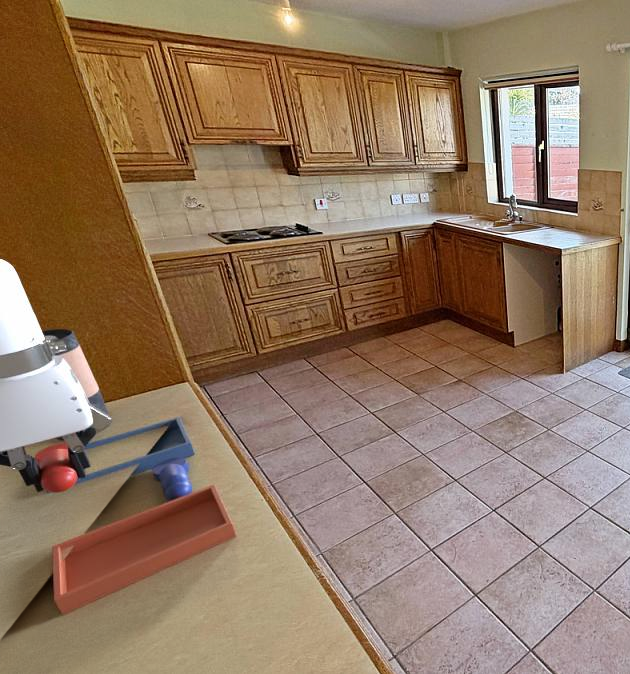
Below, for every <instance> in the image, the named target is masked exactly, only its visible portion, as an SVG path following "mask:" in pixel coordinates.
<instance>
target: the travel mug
mask: <svg viewBox="0 0 630 674" xmlns="http://www.w3.org/2000/svg"><path fill="white" fill-rule="evenodd" d="M41 331H42V333H43V335H44V336H45V338H46V340H50V342H52V341H55V342H58V341H64V342H65V344H66V347H67V351H61V352H59V353H56V354H55V356H61V357H62V358H63V359H64V360H65V361H66V362H67V364H68V365H69V366H70V368H71V369H72V371H73V372H74V374H75V375H76V377H77V379H78V381H79V383H80V385H81V386H82V388H83V390H84V392H85V395H86V397H87V399H88V401H89V403H90V404H91V405H93V406H95V407H96V408H98V409H100V410H101V411H103V412H105V413H107V414H108V415H110V414H109V411H108V408H107V406H106V403H105V401H104V398H103V395H102V393H101V390H100V388H99V385H98V383H97V381H96V378H95V377H94V374H93V371H92V370H91V367H90V365H89V364H88V363H89V362H88V360H87V359H86V356H85V354H84V352H83V350H82V347H81V345H80V343H79V340H78V338H77V337H76V336H77V335H76V334H75V332H74V331H73V330H71V329H67V328H54V329H53V328H52V329H46V330H45V329H44V330H41ZM109 426H110V425H108V426H107V427H105V428H104V429H102V430H101V431H99V432H97V433H96V434H98V433H100V432H102V431H104V430H105V429H107V428H108V427H109ZM79 432H80V431H79ZM55 439H56V440H59V441H65V440H64V439H63V437H62V436H61V437H57V438H55Z"/></svg>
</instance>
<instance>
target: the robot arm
mask: <svg viewBox="0 0 630 674" xmlns="http://www.w3.org/2000/svg"><path fill="white" fill-rule="evenodd" d="M42 331H43V330H42V329H41V326H40V324H39V321H38V318H37V316H36V314H35V312H34V310H33V308H32V305H31V303H30V300H29V298H28V296H27V294H26V291H25V289H24V287H23V285H22V283H21V279H20V277H19V275H18V273H17V271H16V269H15V267H14V266H13V265H12V264H10V263H9V262H8V261H6V260H4V259H1V258H0V466H4V467H5V466H6V467H10V468H11V469H12V470H13V471H18V472H19V474H20V477H21V478H22V480H23V482H24V484H25V486H26V487H30V486H34V488H35V490H36V492H37V493H40V492H43V491H45V490H44V489H43V488H42V486H41V468H40V467H39V465H38V463H37V461H36V459H35V456H32V455H30V454H27V451H26V448H25V447H27V446H29V445H30V446H31V445H34V444H38V443H41V442H47V441H49V440H53V439H56V438H57V437H61V436H62V437H63V439H64V440H63V441H64V442H66V443H67V445H68V457H69V459H70V461H71V464H72V466H73V468H74V470H75V471H76V473H77V478H81V479H82V478H85V477H86V475H87V473H86V469H89V468H91V467H92V465H91V461H90V459H89V457H88V455H87V452H86V450H84V449H85V446H86V445H87V444H88V443H91V441H92V439H93V438H94V437H95V436H96V434H98V433H100V432H102V431H103V430H102V429H104V428H105V427H107V426H108V425H109V426H111V424H112V423H113V418H112V416H111V415H110V414H109V413H108V414H109V415H108V414H107V413H105V412H103V411H101V410H100V409H98V408H96V407H95V406H93V405H91V404H90V403H89V401H88V399H87V397H86V395H85V392H84V390H83V388H82V386H81V385H80V383H79V381H78V379H77V377H76V375H75V374H74V372H73V371H72V369H71V368H70V366H69V365H68V364H67V362H66V361H65V360H64V359H63V358H62V357H61V356H55V354H56V353H59V352H61V351H67V347H66V344H65V342H64V341H58V342H55V341H52V342H50V340H46V338H45V336H44V335H43V333H42ZM109 426H108V427H109ZM108 427H107V428H108ZM105 429H106V428H105ZM105 429H104V430H105ZM101 430H102V431H101ZM79 431H80V432H79ZM99 431H100V432H99ZM97 432H98V433H97Z"/></svg>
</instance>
